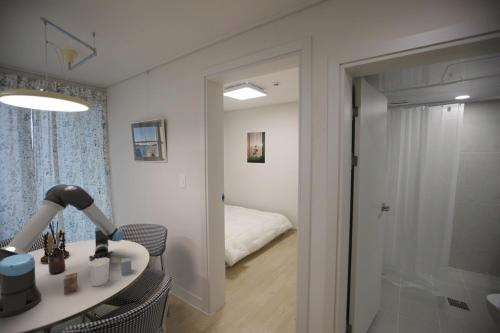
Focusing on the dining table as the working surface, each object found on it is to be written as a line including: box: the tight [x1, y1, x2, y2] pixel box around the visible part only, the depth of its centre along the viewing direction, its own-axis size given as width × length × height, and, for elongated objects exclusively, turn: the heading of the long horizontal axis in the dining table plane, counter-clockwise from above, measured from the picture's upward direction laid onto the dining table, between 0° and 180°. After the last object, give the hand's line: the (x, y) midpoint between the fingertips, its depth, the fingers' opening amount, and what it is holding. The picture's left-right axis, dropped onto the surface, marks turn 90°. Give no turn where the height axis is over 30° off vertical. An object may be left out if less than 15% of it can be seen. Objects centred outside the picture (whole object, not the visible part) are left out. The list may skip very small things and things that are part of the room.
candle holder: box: [88, 257, 111, 287], centre depth 123 cm, size 10×10×12 cm
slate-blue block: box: [120, 257, 132, 276], centre depth 133 cm, size 5×5×8 cm
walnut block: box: [63, 272, 78, 295], centre depth 116 cm, size 5×5×8 cm
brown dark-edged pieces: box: [40, 229, 70, 265], centre depth 149 cm, size 15×15×20 cm
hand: (100, 266), depth 127 cm, fingers closed
